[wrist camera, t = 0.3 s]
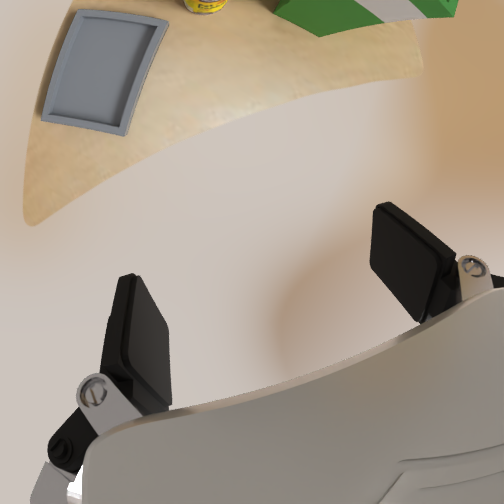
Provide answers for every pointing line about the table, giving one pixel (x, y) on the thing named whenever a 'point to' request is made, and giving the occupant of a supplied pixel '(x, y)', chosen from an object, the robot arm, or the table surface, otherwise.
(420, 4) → the hardback book
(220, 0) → the supplement bottle
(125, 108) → the tray
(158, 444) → the robot arm
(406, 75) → the table surface
